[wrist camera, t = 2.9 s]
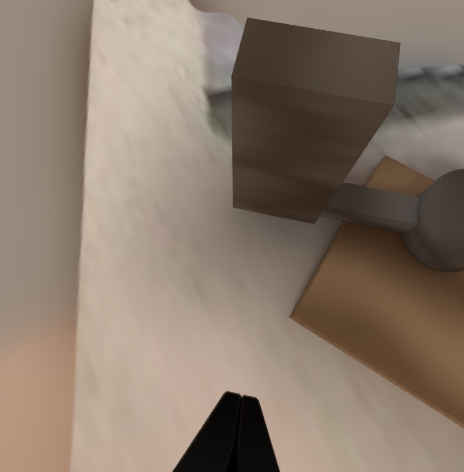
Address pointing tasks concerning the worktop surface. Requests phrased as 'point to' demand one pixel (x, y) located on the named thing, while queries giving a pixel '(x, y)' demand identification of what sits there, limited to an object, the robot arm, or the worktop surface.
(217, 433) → the robot arm
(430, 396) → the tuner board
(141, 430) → the worktop surface
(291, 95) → the upright block on board
